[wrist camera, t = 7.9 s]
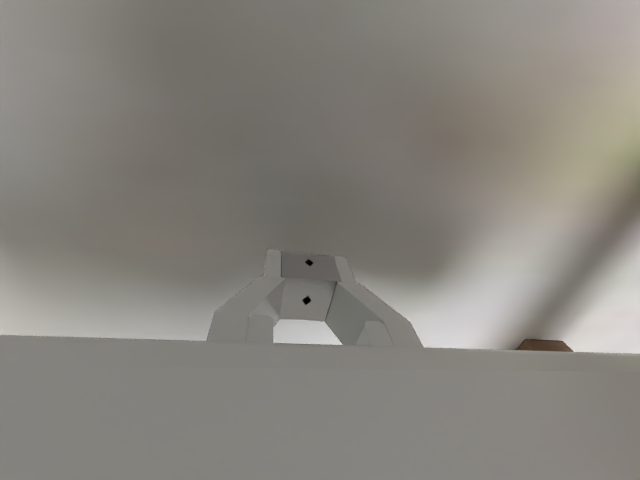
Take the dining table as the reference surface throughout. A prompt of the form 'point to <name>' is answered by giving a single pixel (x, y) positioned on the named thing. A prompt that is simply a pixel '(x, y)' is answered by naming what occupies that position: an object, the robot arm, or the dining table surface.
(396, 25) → the dining table surface
